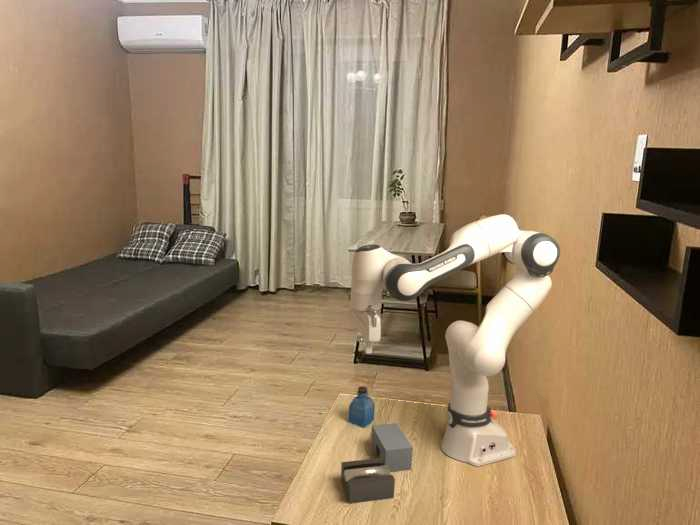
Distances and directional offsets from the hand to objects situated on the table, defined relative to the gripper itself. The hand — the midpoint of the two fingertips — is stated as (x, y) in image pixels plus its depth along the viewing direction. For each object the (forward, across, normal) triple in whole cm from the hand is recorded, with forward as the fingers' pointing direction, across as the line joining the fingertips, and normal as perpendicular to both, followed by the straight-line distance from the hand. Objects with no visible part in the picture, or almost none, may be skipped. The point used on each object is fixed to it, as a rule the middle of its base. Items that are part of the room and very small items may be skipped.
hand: (363, 346), depth 153 cm
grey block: (+33, -6, -8) cm, 35 cm away
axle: (+30, -19, +3) cm, 36 cm away
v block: (+33, -19, +3) cm, 38 cm away
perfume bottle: (+33, +16, -5) cm, 37 cm away
